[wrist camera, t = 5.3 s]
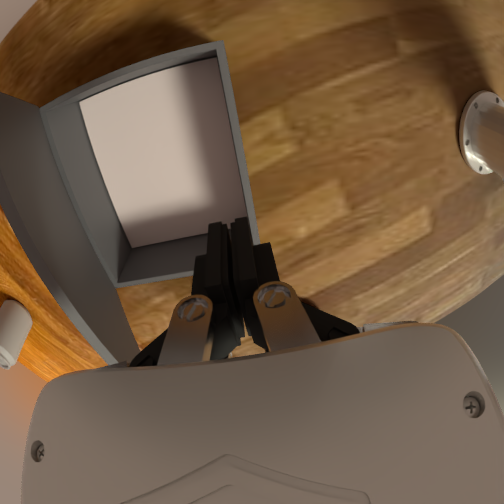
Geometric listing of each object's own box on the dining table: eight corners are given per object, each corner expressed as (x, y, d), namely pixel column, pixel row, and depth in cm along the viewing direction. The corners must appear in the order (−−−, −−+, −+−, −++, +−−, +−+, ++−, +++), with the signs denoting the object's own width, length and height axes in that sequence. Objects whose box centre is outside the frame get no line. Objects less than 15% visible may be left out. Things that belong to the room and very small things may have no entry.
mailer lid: (-23, 84, 4) (-37, 94, 4) (173, 417, 16) (166, 421, 16) (38, 106, 16) (32, 109, 15) (116, 289, 28) (111, 292, 27)
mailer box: (224, 49, 21) (223, 40, 15) (256, 225, 33) (263, 263, 27) (75, 97, 21) (38, 108, 16) (130, 250, 33) (115, 288, 28)
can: (20, 295, 36) (-7, 347, 27) (40, 324, 41) (19, 374, 31) (-1, 297, 36) (-27, 344, 27) (18, 323, 41) (-2, 370, 31)
